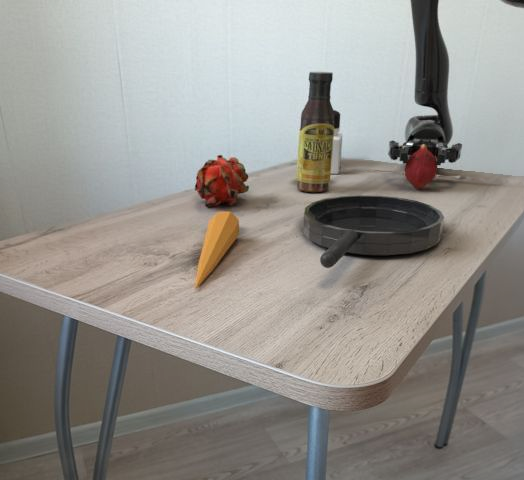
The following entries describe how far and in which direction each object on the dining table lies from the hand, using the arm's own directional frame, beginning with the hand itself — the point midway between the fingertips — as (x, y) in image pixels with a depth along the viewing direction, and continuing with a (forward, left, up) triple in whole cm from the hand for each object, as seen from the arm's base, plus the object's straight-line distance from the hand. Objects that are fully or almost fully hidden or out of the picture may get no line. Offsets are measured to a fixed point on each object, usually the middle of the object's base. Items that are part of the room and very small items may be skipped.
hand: (422, 158), depth 98 cm
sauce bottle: (+18, +5, -6) cm, 20 cm away
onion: (0, -3, -6) cm, 7 cm away
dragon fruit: (+29, +21, -6) cm, 37 cm away
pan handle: (+1, +43, -4) cm, 44 cm away
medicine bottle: (+22, -12, -6) cm, 26 cm away
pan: (+1, +28, -6) cm, 29 cm away
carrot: (+18, +47, -6) cm, 50 cm away
